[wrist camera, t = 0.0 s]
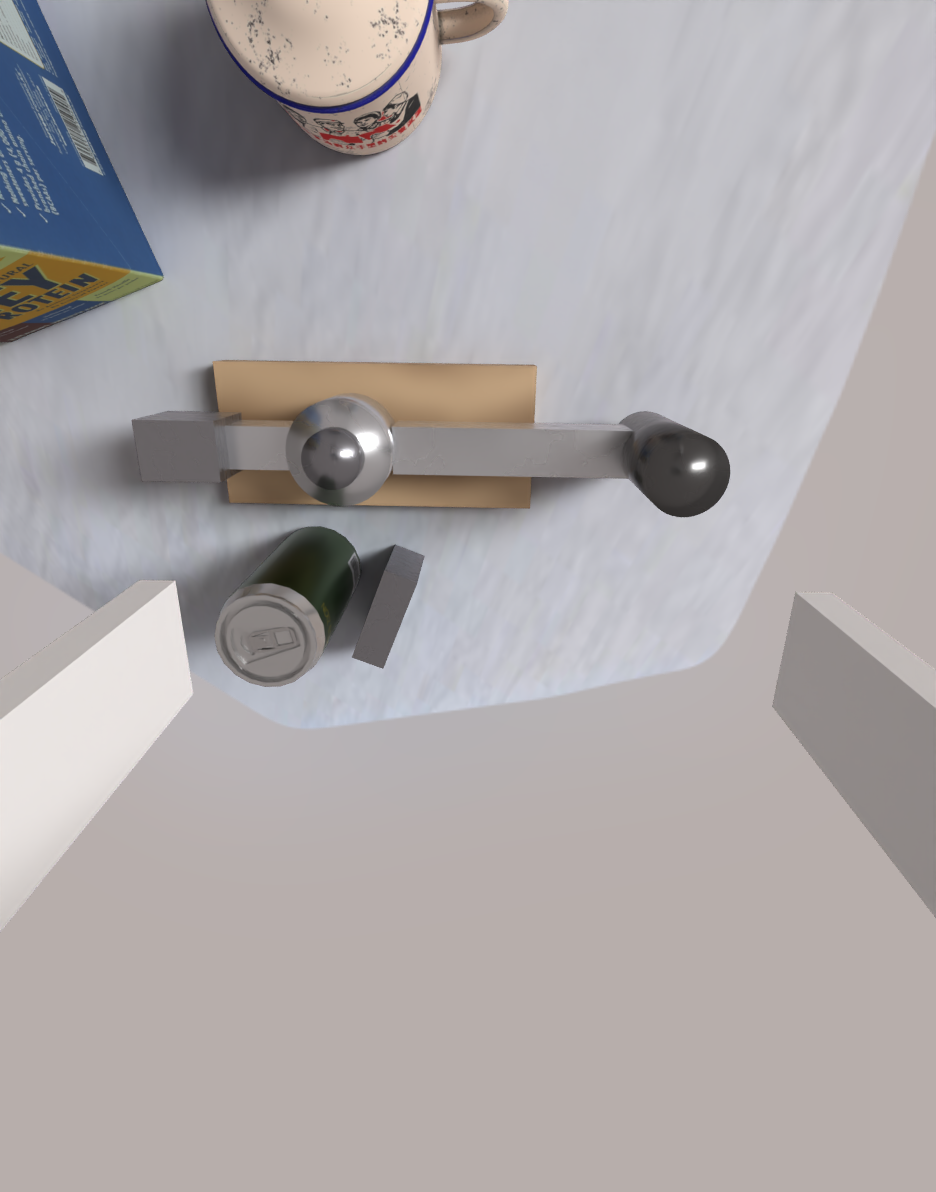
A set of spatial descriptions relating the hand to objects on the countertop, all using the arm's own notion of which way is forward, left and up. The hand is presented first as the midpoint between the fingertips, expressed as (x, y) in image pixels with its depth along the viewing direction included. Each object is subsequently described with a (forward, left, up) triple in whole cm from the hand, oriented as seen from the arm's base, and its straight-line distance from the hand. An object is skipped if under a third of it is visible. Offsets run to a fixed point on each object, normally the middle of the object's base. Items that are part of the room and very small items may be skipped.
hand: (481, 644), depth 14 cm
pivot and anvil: (+5, -6, -28) cm, 29 cm away
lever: (-1, -3, -25) cm, 25 cm away
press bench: (-1, -7, -28) cm, 29 cm away
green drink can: (+8, -10, -28) cm, 31 cm away
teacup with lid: (-19, -5, -28) cm, 35 cm away
